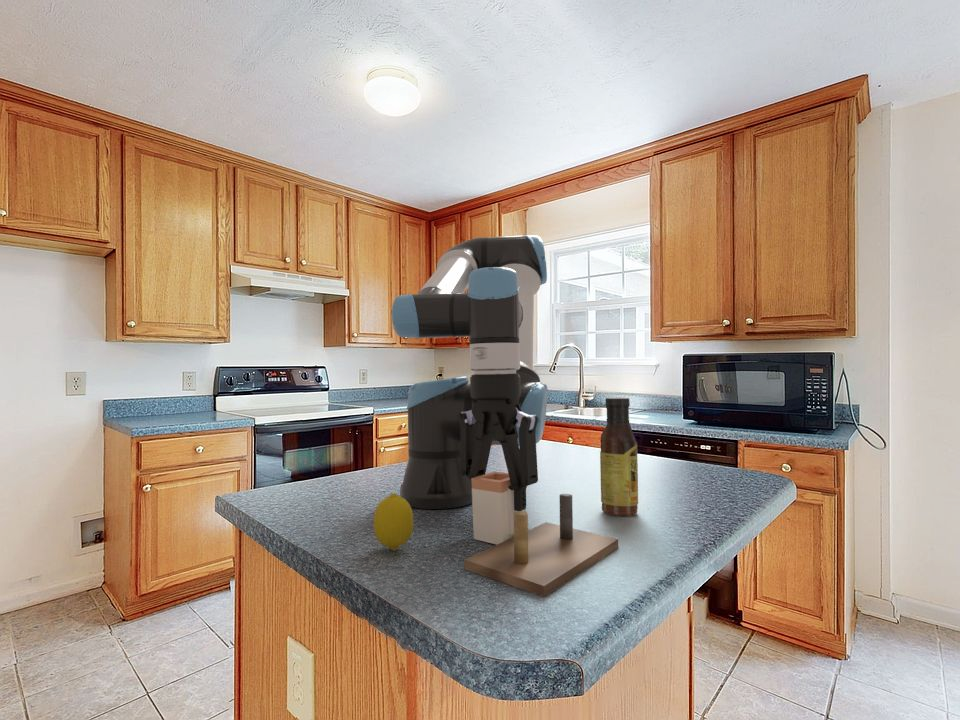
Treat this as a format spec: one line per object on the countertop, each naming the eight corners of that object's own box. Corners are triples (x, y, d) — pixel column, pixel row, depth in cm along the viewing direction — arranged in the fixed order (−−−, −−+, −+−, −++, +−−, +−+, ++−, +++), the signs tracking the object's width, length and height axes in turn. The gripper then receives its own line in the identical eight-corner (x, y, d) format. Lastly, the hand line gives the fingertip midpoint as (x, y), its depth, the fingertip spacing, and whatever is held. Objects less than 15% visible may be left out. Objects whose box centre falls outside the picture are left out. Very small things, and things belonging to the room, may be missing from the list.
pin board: (464, 569, 64) (463, 512, 64) (546, 529, 78) (545, 483, 79) (544, 596, 56) (543, 532, 56) (618, 547, 71) (617, 496, 71)
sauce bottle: (640, 519, 83) (638, 399, 83) (601, 517, 85) (600, 399, 85) (636, 507, 90) (634, 396, 90) (600, 506, 91) (598, 396, 91)
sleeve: (473, 539, 75) (471, 478, 75) (497, 529, 79) (494, 471, 79) (503, 546, 71) (501, 482, 71) (526, 535, 75) (523, 475, 76)
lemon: (376, 544, 73) (375, 489, 73) (414, 542, 74) (414, 488, 74) (371, 559, 68) (370, 499, 68) (412, 557, 68) (412, 498, 68)
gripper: (433, 373, 78) (436, 522, 78) (532, 372, 66) (536, 548, 66) (465, 372, 84) (468, 511, 84) (561, 371, 72) (565, 533, 72)
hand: (498, 527), depth 75 cm, fingers closed on sleeve, 5 cm apart
